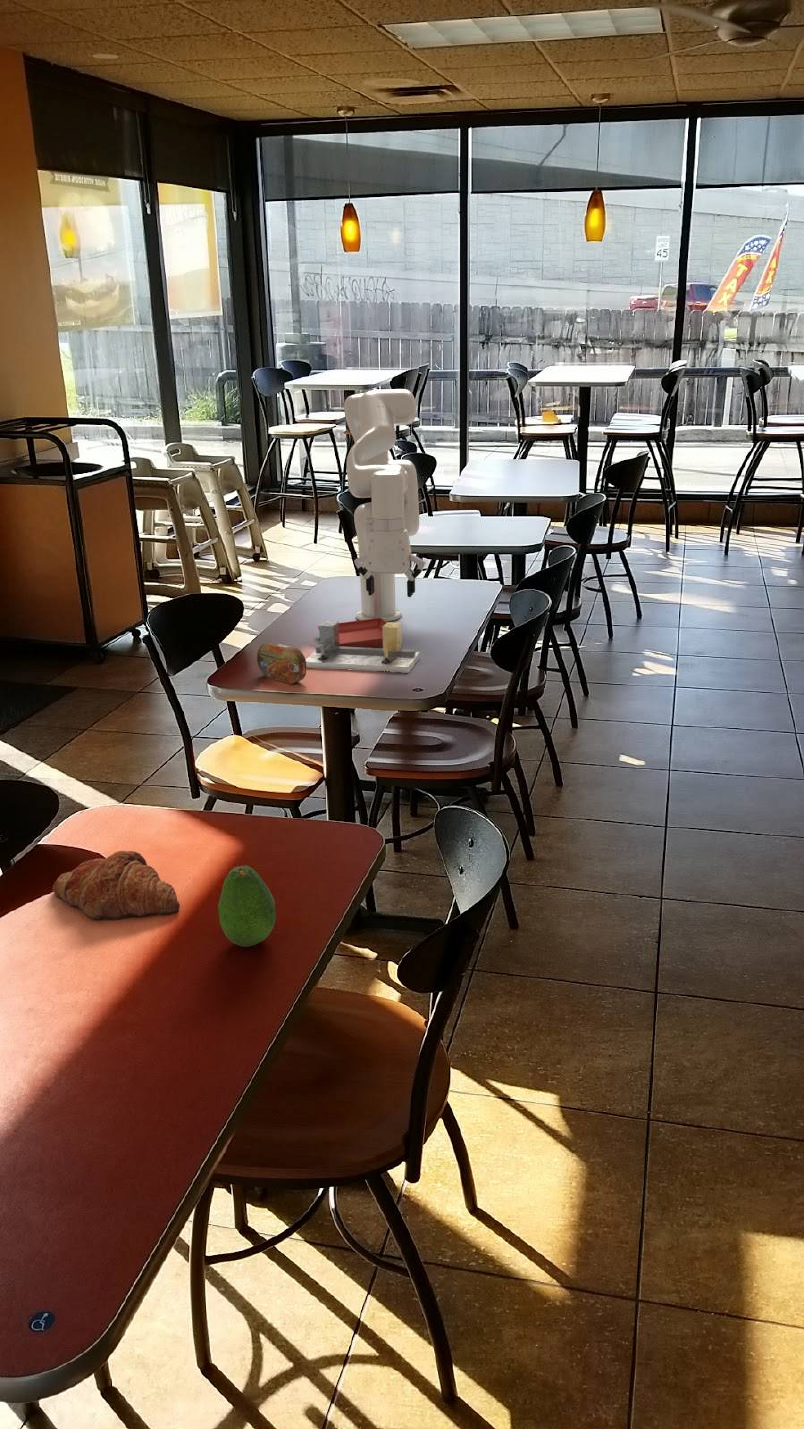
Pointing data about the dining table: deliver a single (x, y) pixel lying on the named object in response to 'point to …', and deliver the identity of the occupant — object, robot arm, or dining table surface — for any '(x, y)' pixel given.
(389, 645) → the tan stemmed block
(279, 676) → the tin
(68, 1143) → the dining table surface
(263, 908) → the avocado
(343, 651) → the hole plate
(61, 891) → the pastry
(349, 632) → the plant saucer
